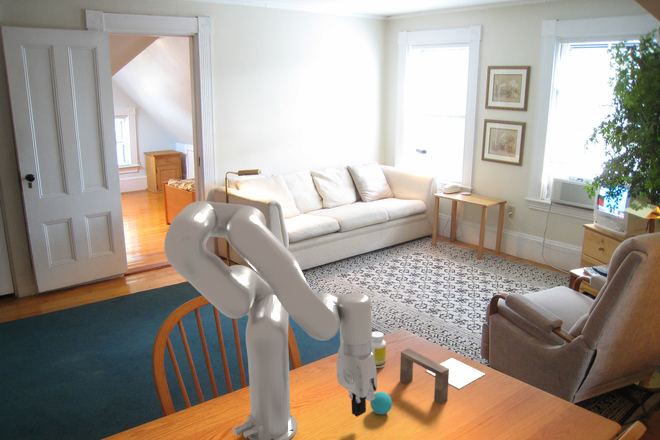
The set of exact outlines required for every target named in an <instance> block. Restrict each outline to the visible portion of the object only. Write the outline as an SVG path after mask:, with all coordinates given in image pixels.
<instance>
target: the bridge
mask: <svg viewBox="0 0 660 440" xmlns="http://www.w3.org/2000/svg"><path fill="white" fill-rule="evenodd" d="M414 364H416V365H418V366H419V367H422V368H423V369H426V371H427V370H429V371H431V372H433V373H435V376H434V396H433V397H434V398H433V401H434V402H436V404H439V405H442V404H443V403H445V402H446V401H448V394H449V384H448V379H449V369H448V368H446V367H444V366H442V365H440V364H441V363H438V362H437V361H434V360H432V359H430V358H428V357H427V356H425V355H422V354H420V353H418V352H416V351H415V350H413V349H410V348H406V349H403V350H402V351H400V364H399V365H400V369H399V371H400V372H399V373H400V374H399V381H400V382H401V383H403V384H404V385H406V384H408V383H410V382H412V381H413V374H414Z"/></svg>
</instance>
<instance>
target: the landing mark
mask: <svg viewBox="0 0 660 440" xmlns="http://www.w3.org/2000/svg"><path fill="white" fill-rule="evenodd" d="M439 364H440V365H442V366H444V367H446V368H448V369H449V379H448V385H450V386H452V387H454V388H456V389H458V390H461V389H462V388H464V387H466V386H467V385H469V384H471V383H472V382H474V381H476V380H477V379H480V378H481V377H484V376H485V375H486V373H484V372H482V371H480V370H478V369H477V368H474V367H472V366H470V365H468V364H465V363H464V362H462V361H459V360H458V359H455V358H454V357H451V358H449V359H446V360H445V361H443V362H441V363H439ZM425 372H426V373H427V374H430V375H431V376H433V377H435V373H433V372H431V371H429V370H427V369H426V370H425Z"/></svg>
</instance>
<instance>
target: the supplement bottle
mask: <svg viewBox="0 0 660 440" xmlns="http://www.w3.org/2000/svg"><path fill="white" fill-rule="evenodd" d="M384 338H385V337H384V332H381V331H372V352H373V354H374V359H375V365H376V369H381V368H384V367H385V366H386V362H387V361H386V355H387V352H386V351H387V347H386V345H387V343H386V340H384Z"/></svg>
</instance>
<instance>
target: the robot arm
mask: <svg viewBox="0 0 660 440" xmlns="http://www.w3.org/2000/svg"><path fill="white" fill-rule="evenodd" d="M210 237H215V238H226V241H227V242H228V244H229V245H230V247H232V249H233V250H234V251H235V252H236V253H237V254H238V255H239V256H240V257H241V258H242V259H243V260H244V261H245V262H246V263H247V264H248V265H249V266H250V267H251V268H250V267H249V266H246V265H242V264H235V265H231V266H229V265H227V264H226V263H225V262H224V261H223V260H222V259H221V257H219V256H218V255H217V254H216V253H213V252H212V251H210V250H209V249H208V248H207V246H206V245H207V241H208V240H209V238H210ZM163 247H164V254H165V257H166V260H167V261H168V263H169V264H170V266H171V268H172V269H173V270H174V271H176V272H177V273H178V275H180V276H181V277H182V278H183V279H184V280H186V281H187V282H188V283H189V284H191V286H193V287H194V289H195V290H196V291H197V292H198V293H200V295H202V297H204V298H205V299H206V300H207V301H208V302H209V303H210V304H211V305H212V306H213V307H215V308H216V309H217V310H218V312H219V313H221V314H222V315H223V316H225V317H227V318H230V319H241V318H243V317H245V316H248V319H247V322H246V328H245V345H246V353H247V364H248V365H247V366H248V367H247V368H248V382H249V398H250V400H249V401H250V413H249V414H247V415H246V420H245V421H244V422H243V423H242V424H239V425H237V426H234V427H233V428H232V432H233V435H234V436H235V437H237V436H239V435H241V434H242V436H243V437H244V439H248V440H291V439H292V438H293V437H294V436H295V435H296V432H297V430H298V421H297V419H296V418H295V416H294V415H292V413H291V392H290V391H291V389H290V386H291V385H290V361H289V359H290V358H289V356H290V355H289V323H290V322H289V319H290V318H291V319H292V320H293V321H294V322H295V323H296V324H297V325H298V327H300V328H301V329H302V330H303V331H304V332H305V333H306V334H307V335H308V336H310V337H311V338H313V339H315V340H318V341H329V340H332V339H333V338H334V337H335V336H336V335H338V334H337V333H338V332H339V342H340V345H339V348H338V351H337V359H336V380H337V383H338V384H339V385H340V387H341V386H342V387H343V388H344V389H346V390H348V396H349V399H350V400H351V401H350V402H351V415H353V416H355V417H357V418H358V417H359V416H362V415H363V414H365V413H366V412H367V402H366V401H368V402H369V401H372V400H374V399H375V395H374V394H375V392H376V391H377V389H378V374H377V373H378V372H377V368H376V365H375V359H374V354H373V352H372V332H373V329H372V328H373V327H372V323H373V322H372V302H371V299H370V298H369V296H368V295H367V294H365V293H362V292H349V293H346V294H345V293H333V292H326V291H324V292H323V291H321V292H316V293H315V292H314V290H313V289H312V287H311V286H310V285H309V282H308V281H307V279H306V278H305V276H304V273H303V271H302V268H301V266H300V264H299V262H298V260H297V258H296V257H295V255H294V254H293V253H292V252H291V251H290V250H288V248H287V247H286V246H285V245H284V244H283V243H282V242H281V241H280V240H279V238H278V237H276V236H275V235H274V234H273V233H272V231H271V230H270V229H269V228H268V227H267V220H266V217H265V215H264V213H263V212H262V211H261V210H260V209H258V208H256V207H254V206H251V205H245V204H237V203H236V204H235V203H227V202H219V201H218V202H216V201H209V200H207V201H206V200H198V201H193V202H191V203H189V204H188V205H186V206H185V207H184V208H183V209H182V210H181V211H180V212H179V213H178V214H177V215H175V217H174V218H173V219H172V221H171V222H170V224H169V226H168V228H167V231H166V233H165V237H164V245H163Z"/></svg>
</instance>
